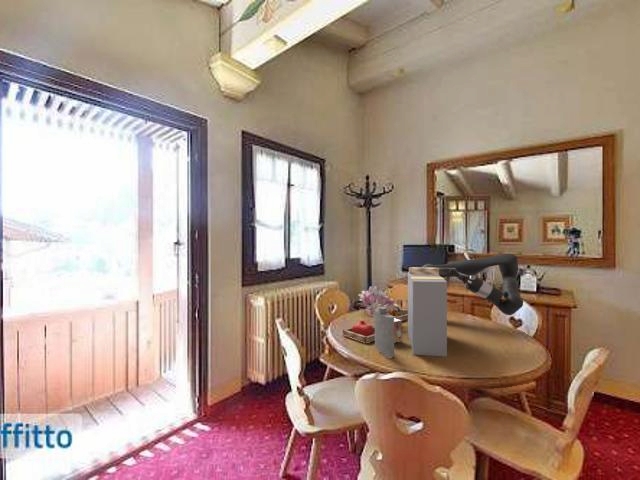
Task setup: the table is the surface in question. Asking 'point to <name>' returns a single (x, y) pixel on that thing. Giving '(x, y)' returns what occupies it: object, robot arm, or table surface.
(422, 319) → the cabinet
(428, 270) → the dark brown square bar
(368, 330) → the butter dish
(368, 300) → the flower
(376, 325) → the hip flask
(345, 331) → the frame
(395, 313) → the nautilus
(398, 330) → the small box
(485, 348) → the table surface
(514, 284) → the robot arm
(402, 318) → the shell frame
